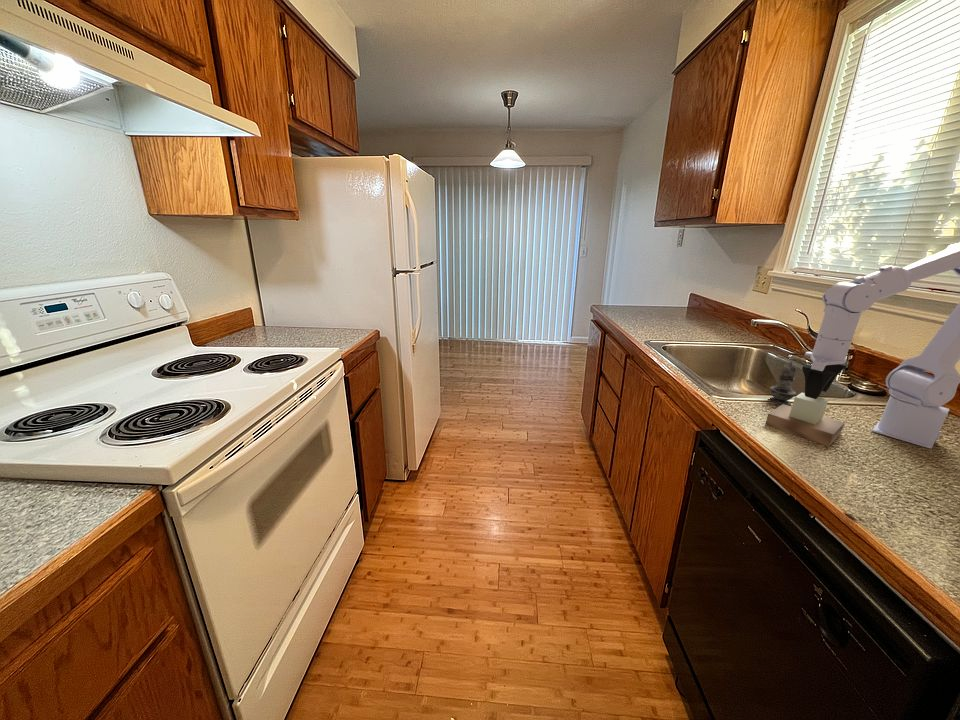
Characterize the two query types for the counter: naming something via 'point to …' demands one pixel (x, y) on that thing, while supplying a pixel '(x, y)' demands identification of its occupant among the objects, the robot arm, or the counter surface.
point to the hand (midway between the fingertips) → (815, 393)
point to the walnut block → (805, 426)
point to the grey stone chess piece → (784, 386)
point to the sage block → (808, 408)
